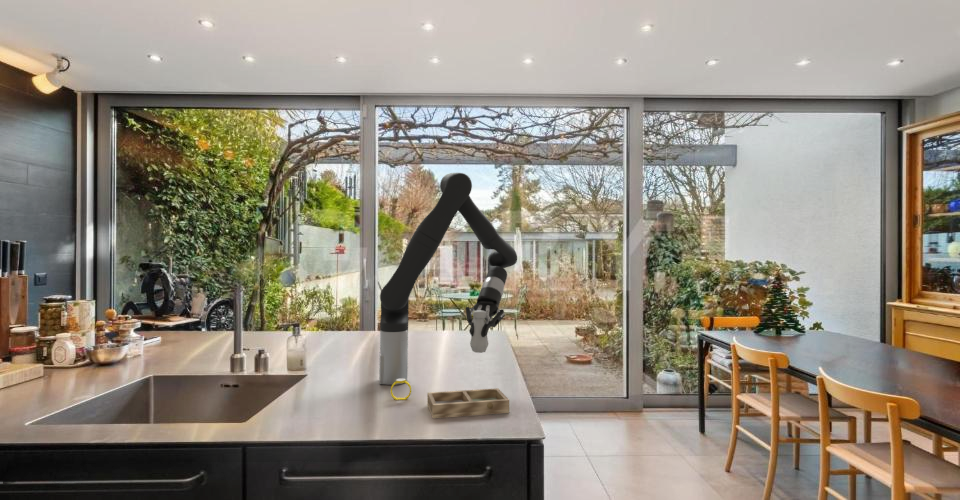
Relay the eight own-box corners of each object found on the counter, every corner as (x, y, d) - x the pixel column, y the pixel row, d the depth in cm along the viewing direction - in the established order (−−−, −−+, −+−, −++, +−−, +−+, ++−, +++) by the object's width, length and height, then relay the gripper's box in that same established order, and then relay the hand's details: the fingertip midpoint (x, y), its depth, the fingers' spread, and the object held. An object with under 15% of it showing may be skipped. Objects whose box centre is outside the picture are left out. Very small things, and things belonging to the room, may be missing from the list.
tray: (433, 418, 123) (433, 405, 123) (427, 404, 134) (427, 392, 134) (509, 413, 128) (509, 400, 128) (498, 400, 139) (498, 388, 139)
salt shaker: (486, 353, 146) (487, 312, 146) (468, 352, 147) (469, 311, 147) (489, 349, 152) (490, 309, 152) (472, 348, 153) (473, 309, 153)
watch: (390, 402, 137) (389, 381, 137) (391, 399, 140) (390, 379, 139) (411, 400, 138) (410, 379, 137) (411, 397, 140) (410, 377, 140)
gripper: (469, 285, 159) (453, 326, 148) (508, 287, 154) (495, 330, 142) (474, 299, 164) (459, 340, 153) (513, 301, 159) (500, 344, 147)
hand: (477, 335), depth 148 cm, fingers closed on salt shaker, 3 cm apart
